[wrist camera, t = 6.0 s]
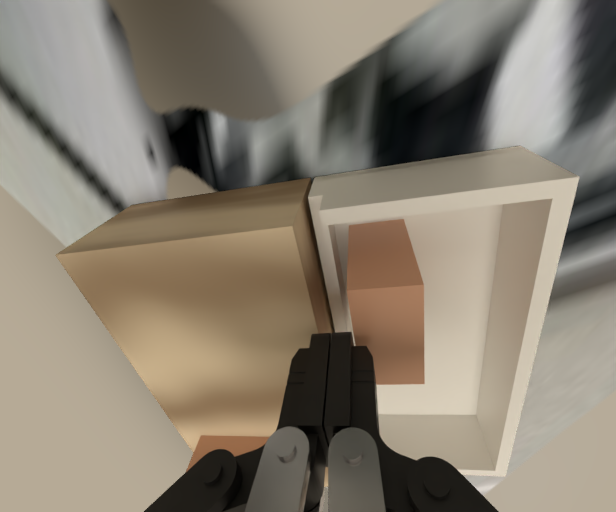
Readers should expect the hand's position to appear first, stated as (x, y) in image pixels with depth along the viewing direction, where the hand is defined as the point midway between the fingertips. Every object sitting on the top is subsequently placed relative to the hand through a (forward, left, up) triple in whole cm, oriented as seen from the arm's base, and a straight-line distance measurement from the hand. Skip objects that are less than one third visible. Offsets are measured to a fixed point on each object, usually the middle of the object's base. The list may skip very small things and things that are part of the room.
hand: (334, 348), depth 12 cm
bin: (+4, +4, -6) cm, 8 cm away
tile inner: (0, +1, -3) cm, 3 cm away
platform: (+4, -6, -6) cm, 9 cm away
